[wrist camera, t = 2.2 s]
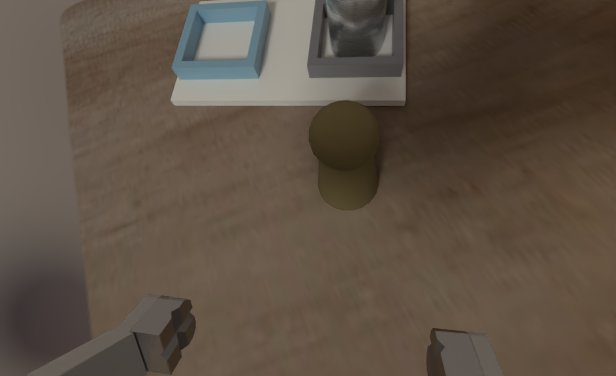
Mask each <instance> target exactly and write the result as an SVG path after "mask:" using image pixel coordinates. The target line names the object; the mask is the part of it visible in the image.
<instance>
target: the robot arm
mask: <svg viewBox="0 0 616 376" xmlns="http://www.w3.org/2000/svg"><path fill="white" fill-rule="evenodd" d="M191 309H192V304H191V300H188V299H182V298H176V297H169V296H161V295H154V294H149V295H147V296H145V297H144V298H143V299H142V300H141V301H140V302H139V304H138V305H137V306H136V307H135V308H134V309H133V310H132V311H131V313H130V314H129V315H128V316H127V317H126V318H125V319H124V321H123V322H122V323H121V324H120V325H119V326H118V327H117V328H116V330H109V331H107V332H106V333H104V334H102V335H100V336H98V337H96V338H94V339H93V340H91V341H89V342H87V343H85V344H83V345H81V346H79V347H78V348H76V349H74V350H72V351H70V352H68V353H67V354H65V355H63V356H61V357H59V358H57V359H55V360H54V361H52V362H50V363H48V364H46V365H44V366H42V367H40V368H38V369H37V370H35V371H33V372H31V373H29V374H28V375H27V376H145V375H146V374H147V372H152V373H160V374H167V375H171V374H172V372H173V371H174V369H175V367H176V366H177V364H178V362H179V361H180V359H181V357H182V355H181V350H182V349H184V348H185V347H187V346H188V345H189V344H190V342H191V340H192V338H193V335H194V332H195V328H196V321H195V317H194V316H193V315H192V314H191V313H190V311H191ZM430 340H431V345H430V346H428V349H427V358H426V365H427V374H428V376H504V375H503V372H502V370H501V367H500V365H499V363H498V360H497V358H496V356H495V353H494V351H493V348H492V346H491V344H490V341H489V339H488V337H487V336H486V335H485V334H483V333H474V332H465V331H456V330H447V329H438V328H432V330H431V334H430Z"/></svg>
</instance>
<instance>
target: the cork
mask: <svg viewBox="0 0 616 376" xmlns="http://www.w3.org/2000/svg"><path fill="white" fill-rule="evenodd" d="M309 142H310V145H311V148H312V151H313V154H314V155H315V156H316V157H317V159H318V160H319V175H318V188H319V191H320V194H321V196H322V197H323V199H324V200H325V201H326V202H327V203H328V204H330V205H331V206H332V207H334V208H337V209H340V210H355V209H358V208H361V207H363V206H365V205H366V204H368V203H369V202H370V201H371V200H372V198H373V197H374V196H375V194H376V191H377V188H378V175H377V170H376V165H375V160H374V154H375V152H376V151H377V148H378V145H379V142H380V126H379V123H378V121H377V119H376V117H375V115H374V114H373V113H372V111H371V110H370V109H369V108H368V107H366V106H364V105H362V104H360V103H358V102H355V101H350V100H341V101H336V102H333V103H330V104H328V105H327V106H325V107H324V108H322V109H321V110H320V111H319V112H318V113H317V114H316V116H315V117H314V118H313V120H312V123H311V126H310V129H309Z"/></svg>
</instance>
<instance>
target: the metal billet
mask: <svg viewBox="0 0 616 376" xmlns="http://www.w3.org/2000/svg"><path fill="white" fill-rule="evenodd" d="M386 5H387V0H326V6H327V16H328V25H329V35H330V45H331V50H332V52H333V54H334V55H335V56H336V57H374V56H375V55H377V54H378V52H379V51H380V50H381V48H382V45H383V36H384V25H385V15H386Z"/></svg>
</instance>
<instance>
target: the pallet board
mask: <svg viewBox="0 0 616 376" xmlns="http://www.w3.org/2000/svg"><path fill="white" fill-rule="evenodd" d="M172 70H173V71H174V72H175V74H176V75H177V76H178V77H177V80H176V84H175V87H174V91H173V94H172V97H171V102H172V103H173V104H174V105H175V106H327V105H328V104H330V103H333V102H336V101H341V100H350V101H355V102H358V103H360V104H362V105H364V106H405V101H406V0H387V5H386V15H385V25H384V36H383V45H382V48H381V50H380V51H379V52H378V54H377V55H375V56H374V57H336V56H335V55H334V54H333V52H332V50H331V45H330V35H329V25H328V16H327V6H326V0H218V1H201V2H200V3H199V4H194V5H191V7H190V10H189V13H188V16H187V20H186V23H185V26H184V29H183V33H182V36H181V39H180V42H179V45H178V49H177V52H176V55H175V58H174V62H173V65H172Z"/></svg>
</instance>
